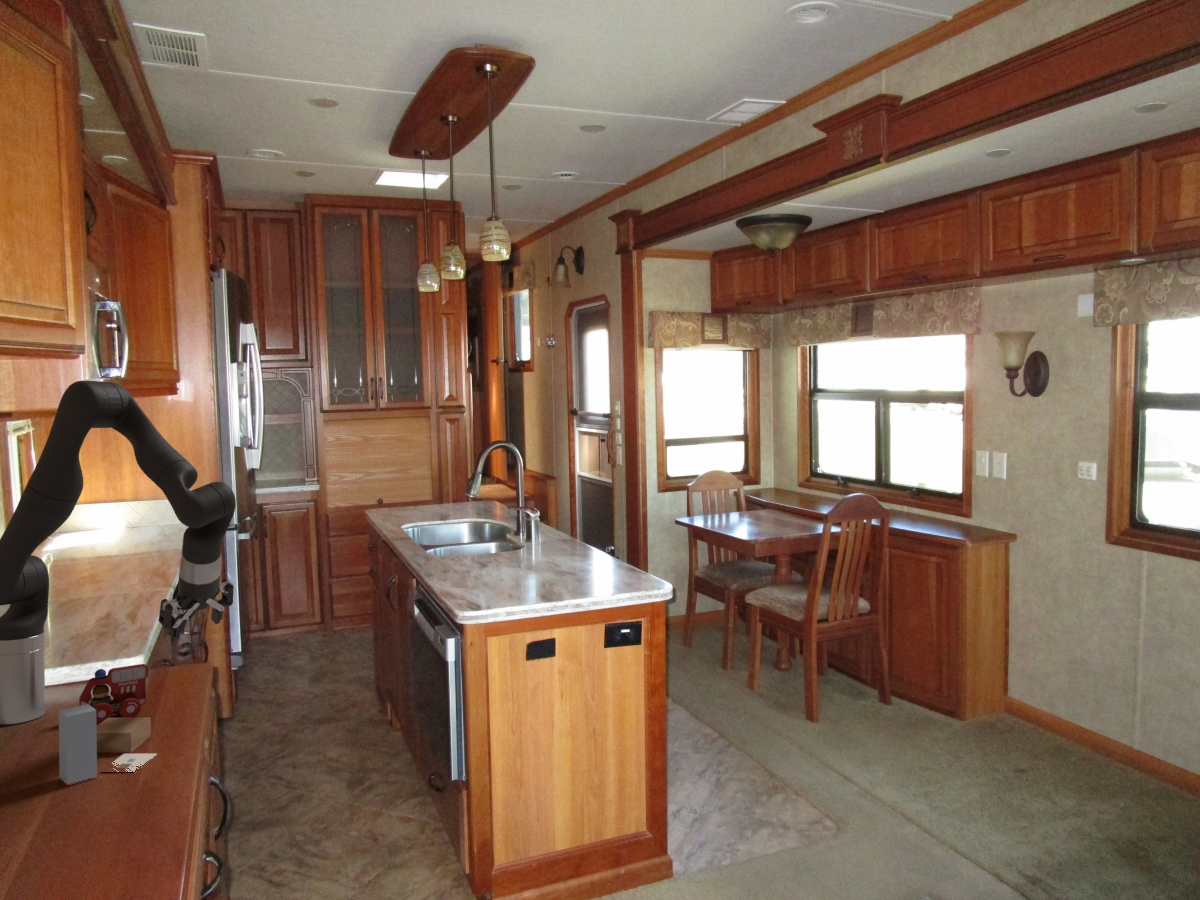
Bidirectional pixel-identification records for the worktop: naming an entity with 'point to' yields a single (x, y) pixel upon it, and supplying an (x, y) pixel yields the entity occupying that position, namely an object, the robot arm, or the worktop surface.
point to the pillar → (77, 743)
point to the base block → (122, 734)
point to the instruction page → (132, 761)
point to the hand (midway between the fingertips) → (195, 629)
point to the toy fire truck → (117, 691)
